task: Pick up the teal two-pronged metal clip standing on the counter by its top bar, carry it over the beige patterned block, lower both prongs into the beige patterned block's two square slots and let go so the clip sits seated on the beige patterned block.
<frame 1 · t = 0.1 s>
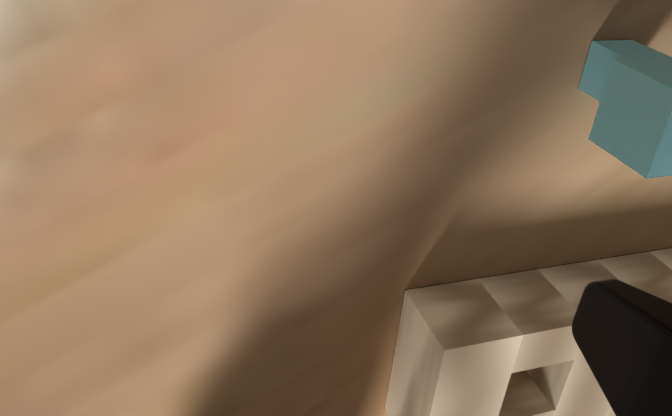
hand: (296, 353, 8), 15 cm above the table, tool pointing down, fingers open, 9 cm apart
clip: (671, 61, 27), on the table
beige patterned block: (547, 324, 34), on the table
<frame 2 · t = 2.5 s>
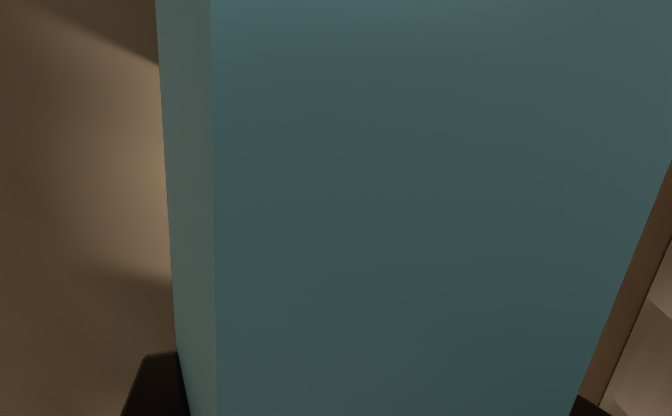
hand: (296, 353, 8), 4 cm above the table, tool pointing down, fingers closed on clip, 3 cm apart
clip: (241, 211, 11), on the table, touching gripper
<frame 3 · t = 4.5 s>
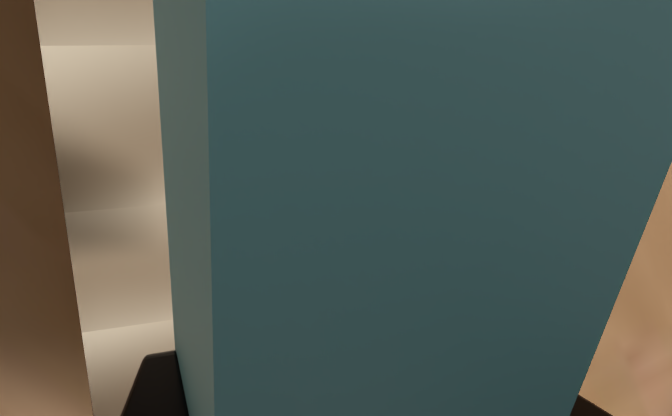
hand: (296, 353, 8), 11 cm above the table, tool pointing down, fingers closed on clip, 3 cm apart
clip: (240, 209, 11), point 7 cm above the table, touching gripper
beige patterned block: (220, 62, 17), on the table
when the fingers open (5 cm above the table, at t = 6.3 s): clip drops 1 cm, resting on beige patterned block.
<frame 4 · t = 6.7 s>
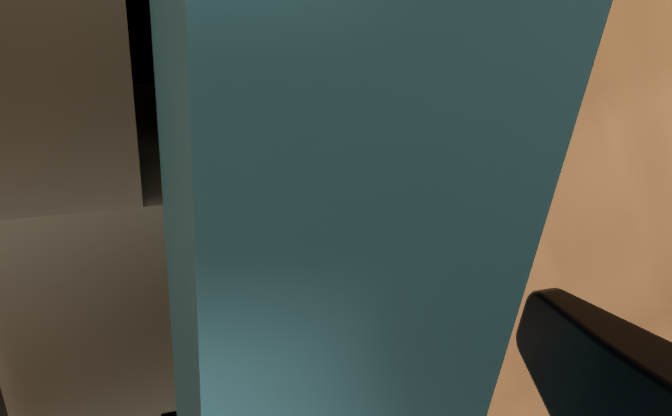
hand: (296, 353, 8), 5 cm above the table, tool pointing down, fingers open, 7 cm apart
clip: (232, 181, 12), resting on beige patterned block
beige patterned block: (225, 170, 12), on the table
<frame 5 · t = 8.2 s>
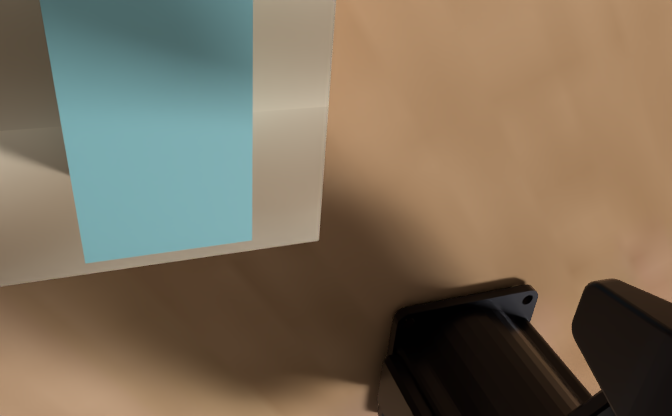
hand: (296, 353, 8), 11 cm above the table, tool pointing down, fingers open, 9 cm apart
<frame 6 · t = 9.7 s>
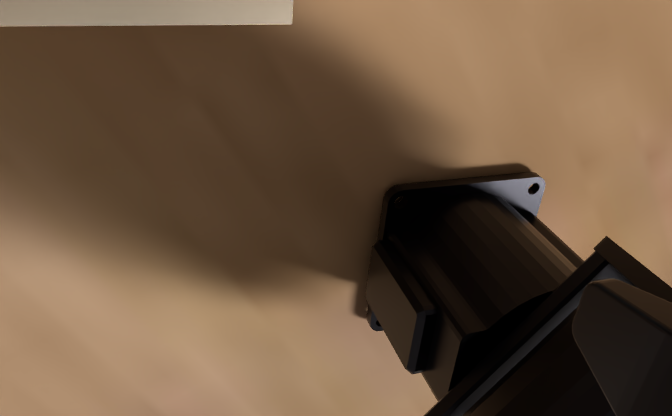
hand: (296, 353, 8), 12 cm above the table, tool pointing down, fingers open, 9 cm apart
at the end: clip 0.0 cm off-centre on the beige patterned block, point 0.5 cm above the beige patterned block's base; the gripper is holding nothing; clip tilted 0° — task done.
